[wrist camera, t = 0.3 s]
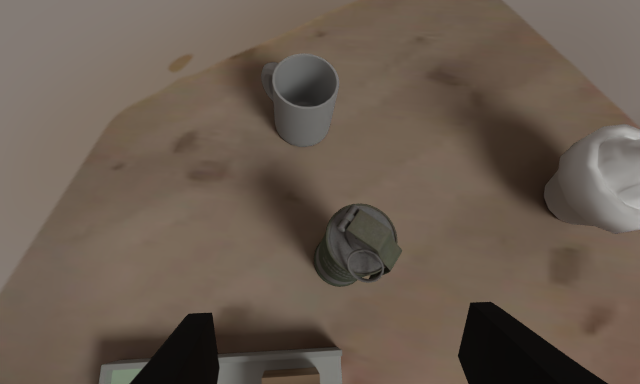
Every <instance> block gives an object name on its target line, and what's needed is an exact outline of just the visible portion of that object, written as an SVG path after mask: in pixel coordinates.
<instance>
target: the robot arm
mask: <svg viewBox="0 0 640 384" xmlns="http://www.w3.org/2000/svg"><path fill="white" fill-rule="evenodd" d="M458 357H459V360H460V363H461V365H462V368H463V371H464V373H465V376H466V379H467V381H468V383H469V384H608V383H606V382H605V381H603V380H602V379H600V378H599V377H597V376H596V375H594V374H593V373H591V372H590V371H588V370H587V369H585V368H584V367H582V366H581V365H579V364H578V363H577V362H575V361H574V360H572V359H571V358H569V357H568V356H567V355H565V354H564V353H562V352H561V351H560V350H558V349H557V348H555V347H554V346H553V345H551V344H550V343H548V342H547V341H546V340H544V339H543V338H541V337H540V336H539V335H537V334H536V333H535V332H533V331H532V330H530V329H529V328H528V327H526V326H525V325H523V324H522V323H521V322H519V321H518V320H517V319H515V318H514V317H512V316H511V315H510V314H508V313H507V312H505V311H504V310H502V309H501V308H500V307H498V306H497V305H495V304H494V303H492V302H476V303H470V307H469V311H468V315H467V319H466V324H465V328H464V332H463V337H462V341H461V345H460V349H459V354H458ZM219 369H220V367H219V360H218V352H217V345H216V338H215V331H214V324H213V316H212V313H193V314H188V315H187V316H186V317H185V318H184V319H183V320H182V322H181V323H180V324H179V325H178V327H177V328H176V329H175V330H174V332H173V333H172V334H171V335H170V336H169V338H168V339H167V340H166V341H165V343H164V344H163V345H162V346H161V347H160V349H159V350H158V351H157V352H156V353H155V355H154V356H153V357H152V358H151V359H150V361H149V362H148V363H147V364H146V365H145V366H144V367H143V369H142V370H141V371H140V372H139V373H138V374H137V375H136V377H135V378H134V379H133V380H132V381H131V382H130V383H129V384H217V382H218V375H219Z"/></svg>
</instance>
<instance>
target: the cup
mask: <svg viewBox="0 0 640 384" xmlns="http://www.w3.org/2000/svg"><path fill="white" fill-rule="evenodd" d="M261 80H262V84H263V88H264V90H265V92H266V94H267V95H268V96H269V98H270V99H271V100H272V101H273V102H274V117H275V125H276V129H277V132H278V133H279V135H280V136H281V137H282V138H283V139H284V140H285V141H286V142H288V143H290V144H291V145H295V146H299V147H307V146H312V145H315V144H317V143H319V142H320V141H321V140H322V139H324V137H325V136H326V134H327V133H328V130H329V127H330V123H331V119H332V114H333V110H334V106H335V101H336V97H337V93H338V88H339V78H338V75H337V72H336V70H335V69H334V68H333V66H332V65H331V64H330V63H329V62H327V61H326V60H325V59H323V58H321V57H319V56H315V55H312V54H296V55H292V56H290V57H287V58H285V59H284V60H283V61H281V62H280V63H279V64H278V63H276V62H271V63H267V64H265V66H264V67H263V70H262V74H261Z"/></svg>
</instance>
